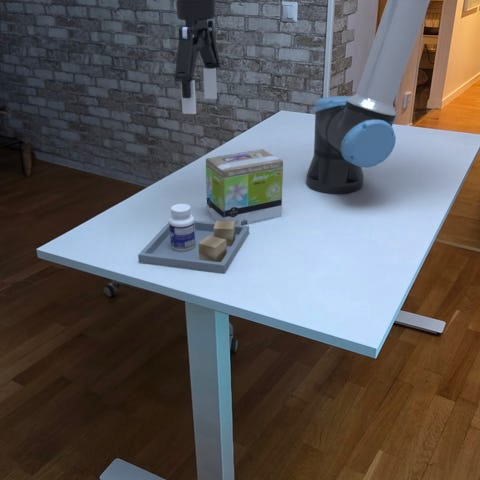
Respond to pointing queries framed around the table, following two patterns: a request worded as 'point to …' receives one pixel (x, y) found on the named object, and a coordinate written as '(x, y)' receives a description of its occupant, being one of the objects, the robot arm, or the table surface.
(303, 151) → the table surface
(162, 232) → the tray
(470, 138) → the table surface
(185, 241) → the pill bottle
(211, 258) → the oak cube
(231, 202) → the tea box
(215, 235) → the oak cube
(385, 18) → the robot arm
